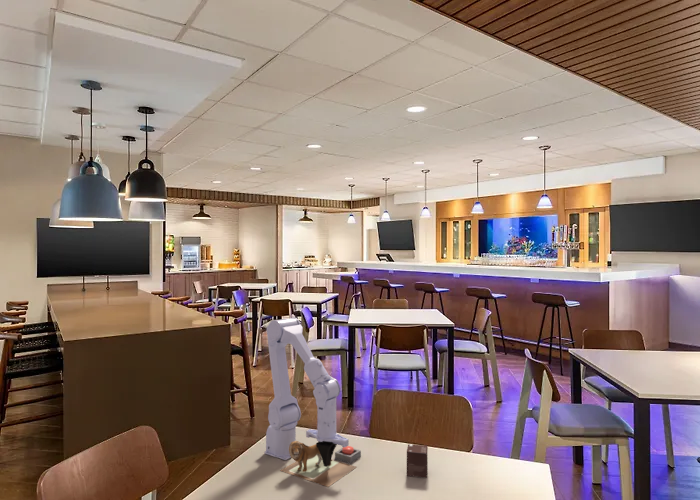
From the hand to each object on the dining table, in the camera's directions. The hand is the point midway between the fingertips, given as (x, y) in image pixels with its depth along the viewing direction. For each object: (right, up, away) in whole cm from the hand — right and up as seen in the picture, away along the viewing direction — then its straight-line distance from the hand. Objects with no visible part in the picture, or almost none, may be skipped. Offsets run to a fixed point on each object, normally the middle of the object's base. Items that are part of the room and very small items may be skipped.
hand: (326, 465), depth 145 cm
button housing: (+6, -2, +9) cm, 11 cm away
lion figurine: (-5, -1, 0) cm, 5 cm away
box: (+27, -2, -1) cm, 27 cm away
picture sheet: (-3, -2, +1) cm, 3 cm away
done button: (+6, 0, +9) cm, 11 cm away
